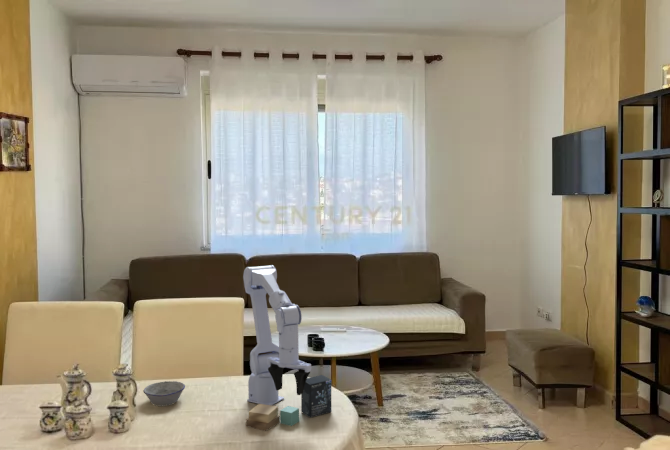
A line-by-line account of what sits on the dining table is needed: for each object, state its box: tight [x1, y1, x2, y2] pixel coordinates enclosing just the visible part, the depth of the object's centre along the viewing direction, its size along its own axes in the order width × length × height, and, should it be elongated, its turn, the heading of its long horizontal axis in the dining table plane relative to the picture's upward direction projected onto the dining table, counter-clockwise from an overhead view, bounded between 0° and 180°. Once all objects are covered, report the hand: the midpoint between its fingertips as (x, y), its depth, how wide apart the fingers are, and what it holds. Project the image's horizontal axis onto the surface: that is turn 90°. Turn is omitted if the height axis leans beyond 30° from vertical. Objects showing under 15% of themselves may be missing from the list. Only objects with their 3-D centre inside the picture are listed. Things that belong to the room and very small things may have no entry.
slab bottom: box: [245, 414, 281, 432], centre depth 170 cm, size 7×7×2 cm
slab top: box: [248, 404, 279, 423], centre depth 170 cm, size 6×6×2 cm
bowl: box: [142, 380, 186, 407], centre depth 188 cm, size 13×13×5 cm
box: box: [300, 374, 332, 418], centre depth 178 cm, size 8×6×11 cm
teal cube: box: [279, 405, 300, 427], centre depth 171 cm, size 4×4×4 cm
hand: (289, 391), depth 170 cm, fingers open, 7 cm apart
